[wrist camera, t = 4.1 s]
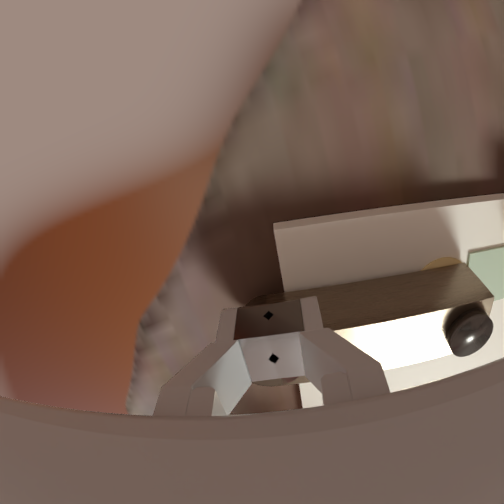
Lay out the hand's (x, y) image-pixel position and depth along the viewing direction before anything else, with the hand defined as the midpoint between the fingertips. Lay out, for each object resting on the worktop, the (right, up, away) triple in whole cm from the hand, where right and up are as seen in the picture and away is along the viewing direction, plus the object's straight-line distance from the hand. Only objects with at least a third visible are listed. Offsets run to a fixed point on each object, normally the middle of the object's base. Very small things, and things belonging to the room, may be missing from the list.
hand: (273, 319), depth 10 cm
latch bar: (+6, -1, +8) cm, 10 cm away
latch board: (+14, -3, +10) cm, 18 cm away
